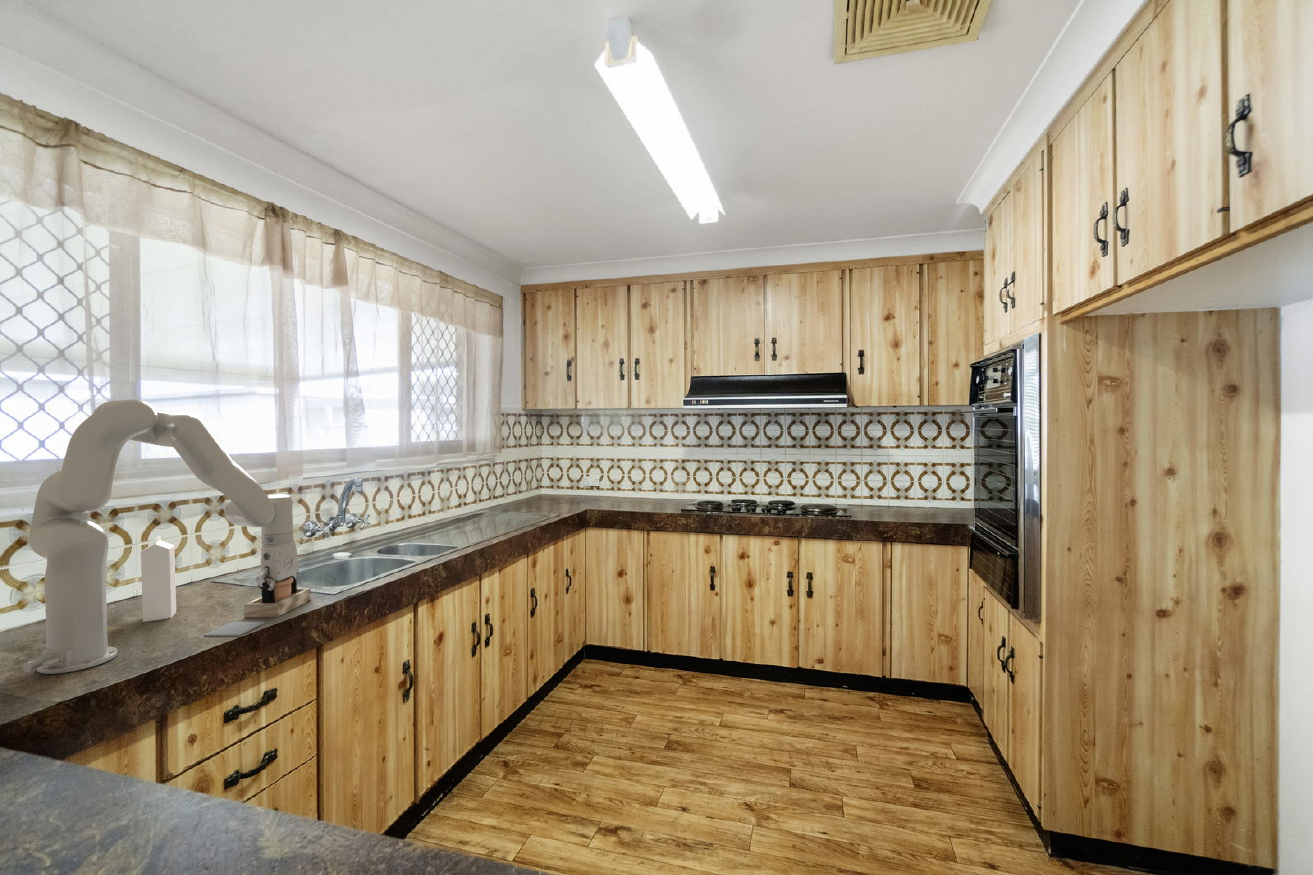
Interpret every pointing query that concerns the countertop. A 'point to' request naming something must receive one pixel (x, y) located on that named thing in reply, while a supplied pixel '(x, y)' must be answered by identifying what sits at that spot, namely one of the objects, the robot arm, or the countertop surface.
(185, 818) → the countertop surface
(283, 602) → the wooden tray
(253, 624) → the mat
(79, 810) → the countertop surface
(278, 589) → the pot
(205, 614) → the countertop surface
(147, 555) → the milk
